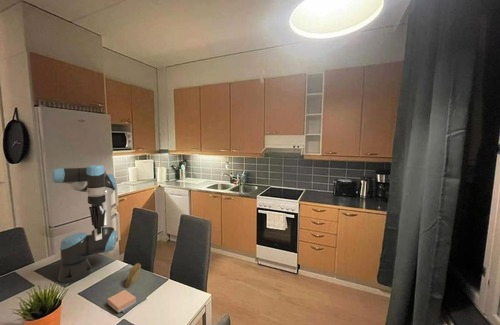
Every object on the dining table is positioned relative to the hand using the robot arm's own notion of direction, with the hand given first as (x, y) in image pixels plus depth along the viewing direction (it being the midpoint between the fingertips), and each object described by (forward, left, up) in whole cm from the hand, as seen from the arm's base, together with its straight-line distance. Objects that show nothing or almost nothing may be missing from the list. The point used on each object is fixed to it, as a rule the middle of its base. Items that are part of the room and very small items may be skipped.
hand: (98, 239), depth 113 cm
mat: (+24, +3, -26) cm, 35 cm away
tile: (+17, 0, -24) cm, 30 cm away
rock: (+9, +12, -27) cm, 31 cm away
